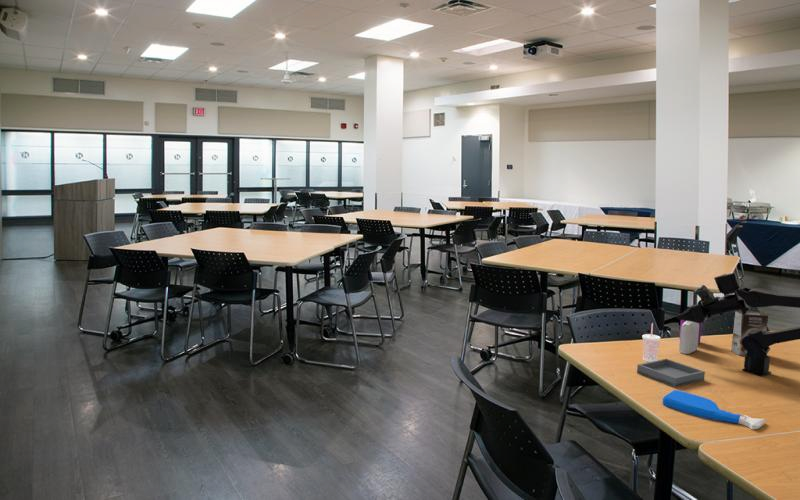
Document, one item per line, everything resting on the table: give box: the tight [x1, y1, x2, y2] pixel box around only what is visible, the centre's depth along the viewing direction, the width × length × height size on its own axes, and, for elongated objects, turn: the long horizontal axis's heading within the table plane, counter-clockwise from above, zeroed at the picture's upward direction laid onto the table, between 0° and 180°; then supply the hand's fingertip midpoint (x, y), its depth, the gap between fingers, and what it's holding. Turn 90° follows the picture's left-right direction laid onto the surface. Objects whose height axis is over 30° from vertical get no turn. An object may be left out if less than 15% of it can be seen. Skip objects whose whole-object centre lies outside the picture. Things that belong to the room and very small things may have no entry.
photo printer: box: [678, 321, 699, 355], centre depth 215 cm, size 10×4×12 cm, turn 134°
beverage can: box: [679, 320, 703, 344], centre depth 227 cm, size 8×8×12 cm
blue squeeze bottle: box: [662, 389, 766, 430], centre depth 158 cm, size 3×11×24 cm
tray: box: [636, 358, 706, 388], centre depth 187 cm, size 15×15×3 cm
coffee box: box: [730, 310, 769, 357], centre depth 212 cm, size 9×6×16 cm
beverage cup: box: [641, 322, 661, 363], centre depth 203 cm, size 6×6×14 cm
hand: (679, 315), depth 207 cm, fingers open, 9 cm apart
